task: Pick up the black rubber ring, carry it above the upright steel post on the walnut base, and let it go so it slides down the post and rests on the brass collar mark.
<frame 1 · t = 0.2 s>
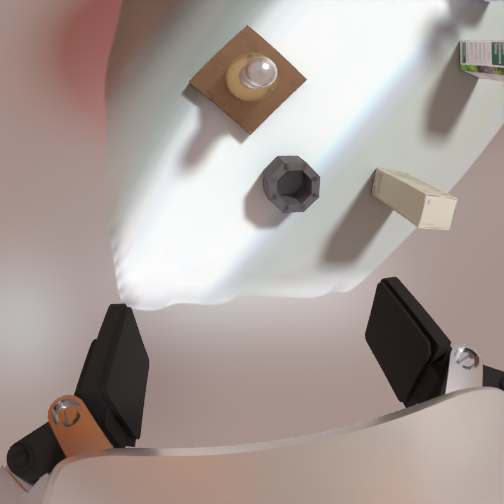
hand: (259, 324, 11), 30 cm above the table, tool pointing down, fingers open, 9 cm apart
syrup box: (469, 59, 32), on the table
post stand: (247, 79, 33), on the table
ring: (287, 179, 40), on the table
skincare box: (389, 182, 42), on the table
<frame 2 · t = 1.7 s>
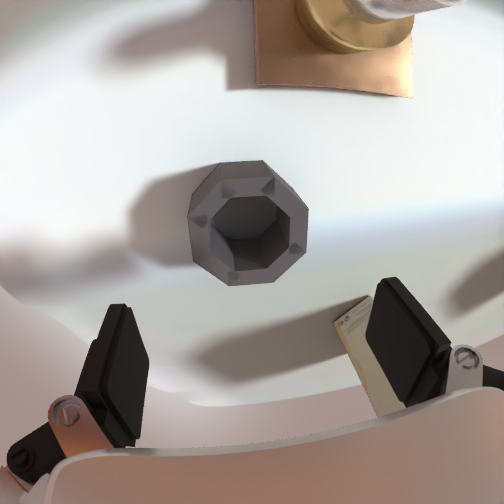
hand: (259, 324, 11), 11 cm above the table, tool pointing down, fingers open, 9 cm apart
post stand: (333, 17, 14), on the table
ring: (243, 209, 20), on the table
skincare box: (364, 322, 27), on the table
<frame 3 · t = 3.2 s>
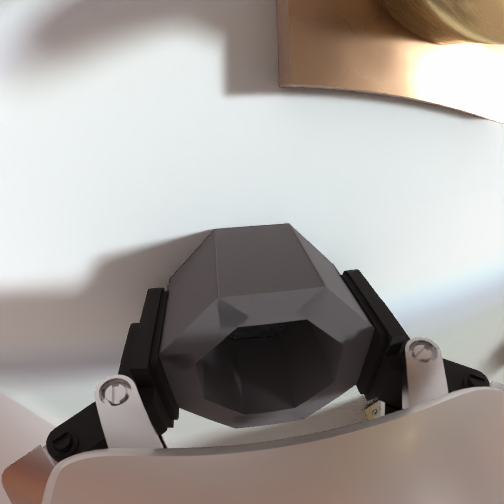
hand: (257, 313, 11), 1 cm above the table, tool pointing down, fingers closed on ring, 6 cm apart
ring: (254, 299, 12), on the table, touching gripper
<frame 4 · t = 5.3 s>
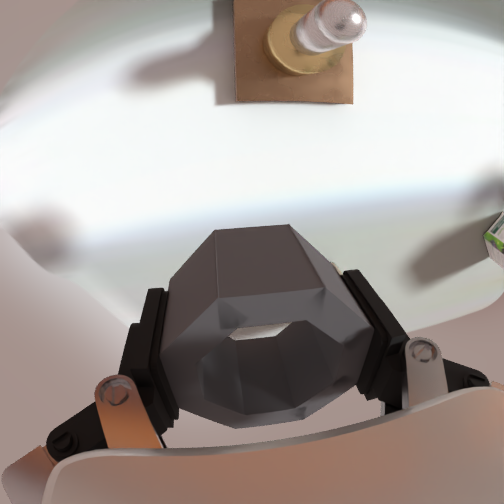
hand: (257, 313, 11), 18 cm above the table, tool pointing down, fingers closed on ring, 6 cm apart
syrup box: (495, 234, 34), on the table
post stand: (292, 47, 21), on the table
ring: (254, 300, 12), point 17 cm above the table, touching gripper
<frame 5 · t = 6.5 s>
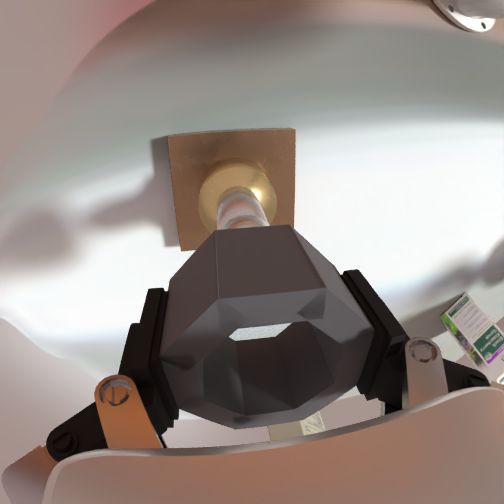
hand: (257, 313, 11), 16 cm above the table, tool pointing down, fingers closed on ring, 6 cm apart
syrup box: (456, 311, 39), on the table
post stand: (233, 187, 26), on the table
ring: (254, 300, 12), point 16 cm above the table, touching gripper
skincare box: (282, 371, 38), on the table
when the fingers open (14 cm above the table, at t = 7.4 s): ring drops 8 cm, resting on post stand.
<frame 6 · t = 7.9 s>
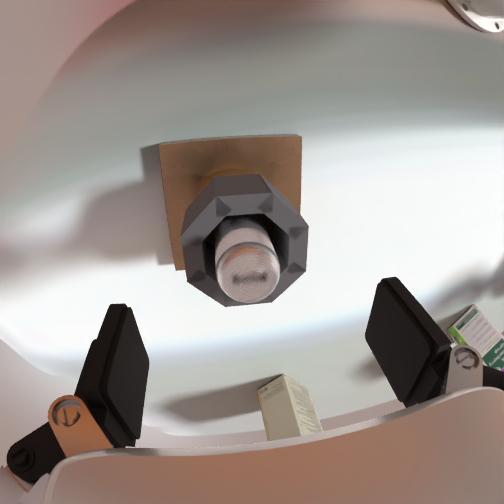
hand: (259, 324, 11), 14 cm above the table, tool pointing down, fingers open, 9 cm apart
syrup box: (463, 323, 36), on the table
post stand: (232, 200, 23), on the table
ring: (239, 224, 19), point 5 cm above the table, touching post stand
skincare box: (284, 388, 36), on the table
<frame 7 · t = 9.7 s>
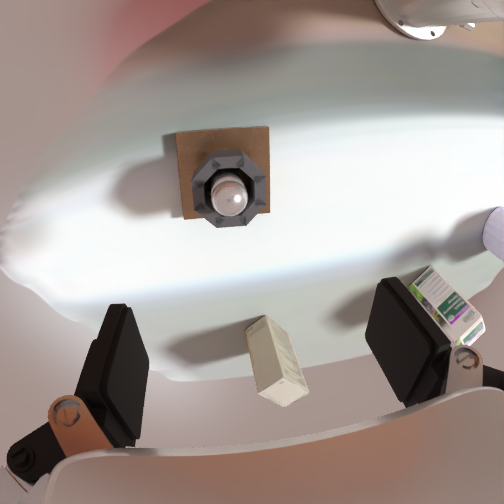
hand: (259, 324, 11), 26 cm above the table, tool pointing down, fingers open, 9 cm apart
syrup box: (423, 283, 47), on the table
soap bottle: (494, 227, 44), on the table
post stand: (224, 170, 34), on the table
ring: (227, 181, 30), point 5 cm above the table, touching post stand
skincare box: (267, 331, 46), on the table
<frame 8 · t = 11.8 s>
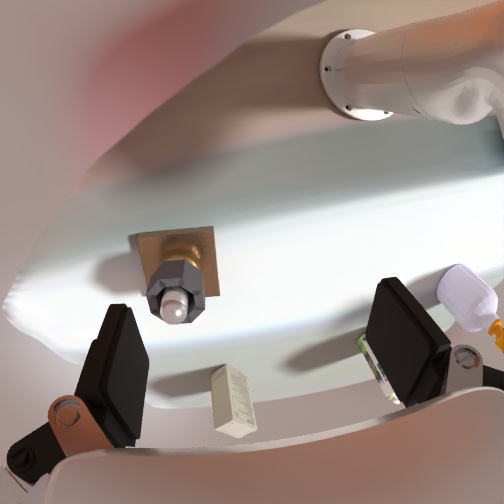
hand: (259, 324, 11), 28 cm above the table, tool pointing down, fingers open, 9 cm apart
syrup box: (373, 336, 54), on the table
soap bottle: (451, 282, 51), on the table
post stand: (180, 262, 41), on the table
ring: (178, 282, 37), point 5 cm above the table, touching post stand
skincare box: (229, 374, 54), on the table
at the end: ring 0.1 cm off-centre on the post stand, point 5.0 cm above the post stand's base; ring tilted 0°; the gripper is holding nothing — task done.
